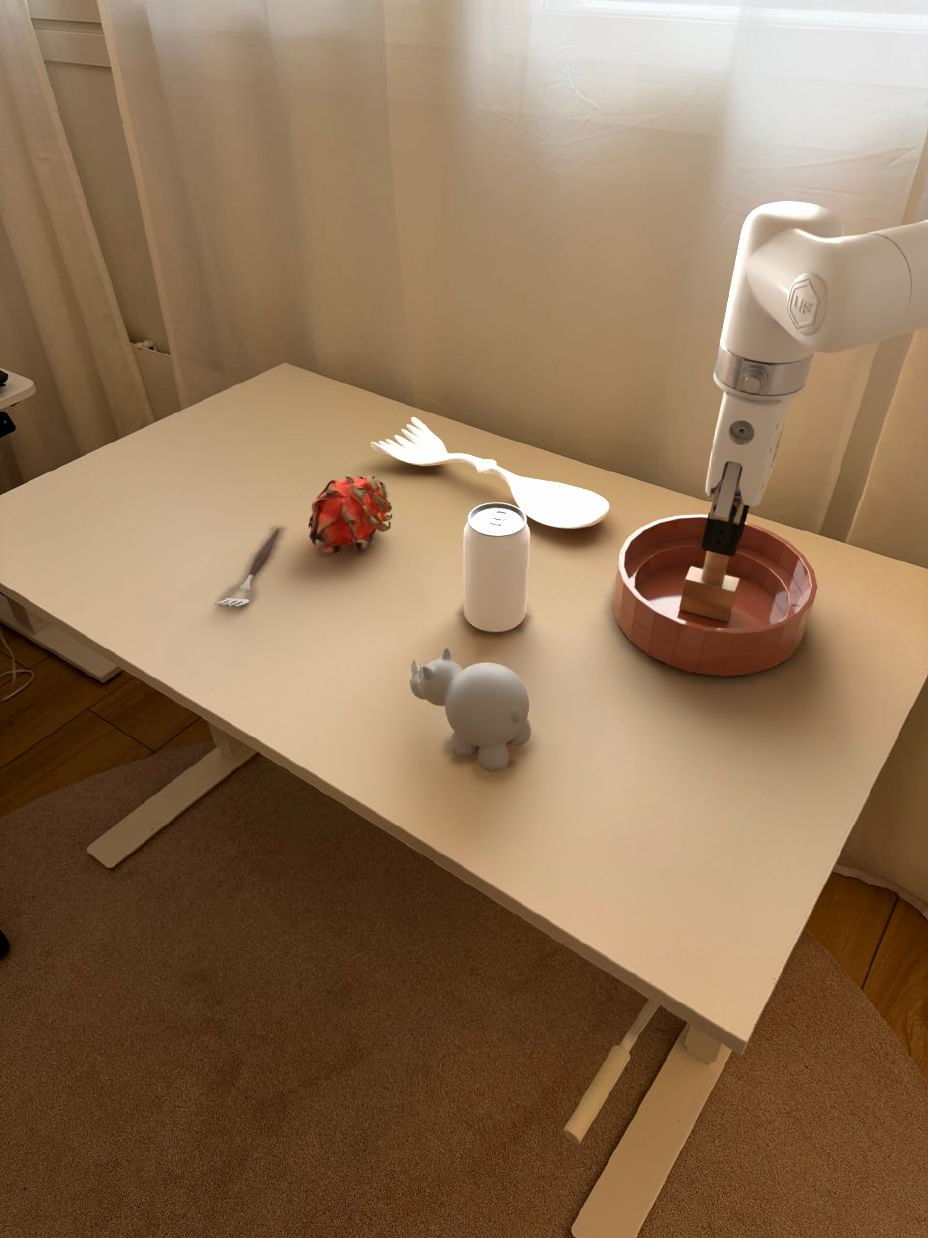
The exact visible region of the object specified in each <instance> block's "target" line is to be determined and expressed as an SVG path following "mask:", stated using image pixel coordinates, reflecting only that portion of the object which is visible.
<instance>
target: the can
mask: <svg viewBox="0 0 928 1238" xmlns="http://www.w3.org/2000/svg"><path fill="white" fill-rule="evenodd" d="M462 538H463V540H462V541H463V542H462V543H463V546H462V547H463V549H462V551H463V558H462V559H463V561H462V562H463V563H462V564H463V566H462V567H463V568H462V569H463V571H462V573H463V574H462V575H463V584H462V585H463V614H464V617H465V619H466V621H467V622H468V623H469V624H470V625H472V626H473V627H474V628H476V629H477V630H478V631H479V630H480V631H482V632H487V633H494V634H495V633H496V634H497V633H505V632H508V631H511V630H513V629H514V628H516V627H518V626H519V625H520V624H521V623H522V622H523V621H524V619H525V617H526V612H527V599H528V584H529V563H530V549H531V548H530V547H531V546H530V545H531V544H530V543H531V531H530V527H529V526H528V523H527V515H526V514H525V513H524V512H523V511H522V510H521V509H520V507H517V506H515V505H513V504H510V503H505V502H488V503H484V504H480V505H477V506H476V507H474V508H472V509H471V511H469V513H468V515H467V522H466V524H465V526H464V529H463V537H462Z"/></svg>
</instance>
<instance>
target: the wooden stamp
mask: <svg viewBox="0 0 928 1238" xmlns="http://www.w3.org/2000/svg"><path fill="white" fill-rule="evenodd" d="M737 504H738V502H736V501H733V504H732V505H734V506H736V508H737ZM728 561H729V556H726V555H722V554H718V553H714V552H710V551H707V553H706V558H705V563H704V567H703V569H700V568H696V567H692V566H691V567H690V569H689V571H688V574H687V576H686V578H685V582H684V587H683V592H682V597H681V602H680V607H679V609H680V610H684V611H688V612H691V613H695V614H699V615H703V616H706V617H710V618H714V619H717V620H721V621H725V622H728V619H729V616H730V613H731V611H732V608H733V604H734V600H735V596H736V592H737V588H738V584H739V580H740V579H739V578H735V577H732V576H728V575H725V573H726V569H727V565H728Z"/></svg>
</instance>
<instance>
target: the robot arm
mask: <svg viewBox="0 0 928 1238" xmlns="http://www.w3.org/2000/svg"><path fill="white" fill-rule="evenodd" d="M736 253H737V254H736V258H735V263H734V269H733V273H732V279H731V284H730V289H729V294H728V300H727V304H726V310H725V311H726V312H725V316H724V321H723V326H722V330H721V335H720V341H719V347H718V350H717V351H718V352H717V356H716V357H717V358H716V361H715V368H714V371H713V380H714V383H715V384H716V385H717V387H719V389H721V390H722V391H723V394H722V399H721V404H720V409H719V413H718V416H717V423H716V427H715V432H714V435H713V436H714V438H713V442H712V447H711V452H710V458H709V463H708V469H707V474H706V481H705V488H704V492H705V494H706V496H707V497H708V498H711V497H712V496H713V498H712V503H711V507H710V511H709V512H708V514H707V515H708V518H707V523H706V527H705V532H704V537H703V541H702V549H703V550H706V551H710V552H714V553H718V554H722V555H726V556H730V557H732V556H734V555H735V553H736V549H737V545H738V541H739V539H741V537H742V534H743V530H744V526H745V522H747V518H748V513H749V509H750V508H755V507H757V506H759V505H760V504H761V502H762V500H763V497H764V495H765V492H766V490H767V487H768V484H769V481H770V478H771V476H772V473H773V470H774V468H775V464H776V460H777V455H778V451H779V447H780V442H781V439H782V436H783V435H782V434H783V430H784V427H785V422H786V418H787V414H788V410H789V405H790V400H792V399H795V398H797V397H798V396H801V394H802V393H803V392H804V391H805V389H806V385H807V379H808V376H809V372H810V369H811V365H812V362H813V357H814V354H815V352H818V353H824V354H834V353H839V352H840V353H841V352H845V351H849V350H853V349H856V348H857V349H858V348H860V347H864V346H867V345H871V344H875V343H878V342H880V341H884V340H887V339H890V338H894V337H898V336H902V335H906V334H909V333H914V332H918V331H921V330H925V329H928V218H927V219H924V220H922V221H918V222H915V223H909V224H905V225H904V224H903V225H899V226H894V227H888V228H884V229H879V230H875V231H870V232H865V233H863V234H855V235H846V236H845V225H844V222H843V220H842V218H841V217H840V216H839V214H837V213H836V212H835V211H833V210H831V209H829V208H827V207H824V206H821V205H818V204H814V203H810V202H801V201H777V202H771V203H766V204H763V205H760V206H759V207H757V208H755V209H753V210H752V211H751V212H750V213H749V215H748V216H747V217H746V219H745V221H744V223H743V225H742V228H741V231H740V238H739V243H738V247H737V252H736ZM733 501H736V502H738V504H737V508H736V506H734V505H732V504H733Z"/></svg>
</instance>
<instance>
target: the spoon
mask: <svg viewBox="0 0 928 1238" xmlns="http://www.w3.org/2000/svg"><path fill="white" fill-rule="evenodd" d="M410 422H411V423H412V424H413V425H414V426H413V425H411V424H408V423H406V425H405V426H406V427H407V429H408V430H406V429H403V428H401V432H402V434H403V435H404V436H405V437H406V438H407V439H408V440H407V439H406V438H404V437H401V436H400V435H397V434H396V435H393V437H394V439H395V441H396V442H397V443H396V442H395V441H393V440H391V439H388V438H385V439H384V440H385V441H386V442H385V441H382V440H379V441H378V443H377V442H375V441H371V442H370V446H371V447H372V449H373V450H375V451H376V452H378V453H379V454H382V455H385V456H387V457H391V458H394V459H396V460H399V461H401V462H403V463H406V464H410V465H414V466H418V467H419V466H420V467H433V466H434V467H435V466H440V465H446V464H451V463H461V464H465V465H468V466H471V467H473V468H475V469H476V471H477V473H479V474H482V475H485V474H492V475H495V476H497V477H499V478H500V479H502V480H503V481H504V482H505V483H506V484H507V485H508V487H509V489H510V491H511V494H512V496H513V500H514V501H515V503H516V505H517V506H518V508H519V509H520V510H522V511H523V512H524V514H525V515H526V516H527V517H528V518H530V519H531V520H534V521H535V522H537V523H539V524H542V525H545V526H548V527H552V528H556V529H568V530H569V529H582V528H587V527H593V526H595V525H596V524H599V523H600V522H602V521H603V520H604V519H605V518H606V516H607V515H608V513H609V511H610V503H609V502H608V500H607V499H605V498H604V497H603V496H601V495H600V494H597V493H596V492H594V491H592V490H591V491H590V490H587V489H585V488H582V487H576V486H573V485H569V484H565V483H563V482H557V481H548V480H542V479H536V478H530V477H524V476H520V475H517V474H515V473H512V472H510V471H508V470H507V469H504V468H502V467H500V466H498V465H497V463H498V462H497V461H495V460H494V459H483V458H480V457H476V456H473V455H471V454H466V453H448V452H447V449H446V446H445V444H444V442H443V441H442V440H441V439H440V438H439V437H438V436H437V435H435V434H434V433H433V432H432V431H431V430H430V429H429V428H428V427H427V425H426V424H424V423H423V422H422V421H421V420H420V419H418V418H417V417H414V416H413V417H410ZM409 431H410V432H409Z"/></svg>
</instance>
